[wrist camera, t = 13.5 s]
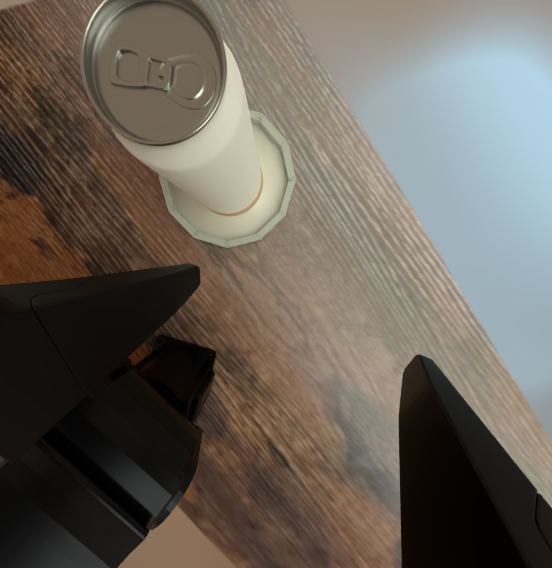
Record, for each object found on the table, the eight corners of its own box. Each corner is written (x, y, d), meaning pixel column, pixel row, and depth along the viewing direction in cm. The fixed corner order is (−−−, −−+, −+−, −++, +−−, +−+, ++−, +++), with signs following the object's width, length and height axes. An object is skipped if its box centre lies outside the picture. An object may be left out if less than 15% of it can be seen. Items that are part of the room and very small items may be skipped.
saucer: (156, 225, 21) (148, 223, 20) (184, 97, 20) (178, 86, 18) (271, 261, 22) (271, 261, 20) (308, 137, 20) (310, 129, 19)
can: (254, 221, 20) (221, 172, 9) (188, 207, 20) (60, 137, 8) (268, 150, 20) (252, -14, 8) (199, 134, 20) (74, -55, 8)
